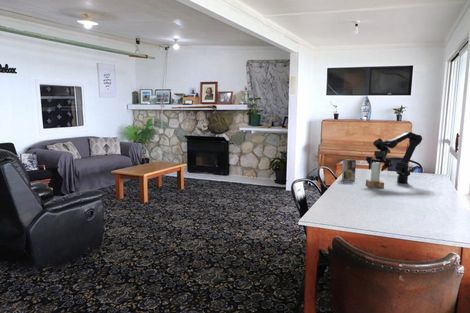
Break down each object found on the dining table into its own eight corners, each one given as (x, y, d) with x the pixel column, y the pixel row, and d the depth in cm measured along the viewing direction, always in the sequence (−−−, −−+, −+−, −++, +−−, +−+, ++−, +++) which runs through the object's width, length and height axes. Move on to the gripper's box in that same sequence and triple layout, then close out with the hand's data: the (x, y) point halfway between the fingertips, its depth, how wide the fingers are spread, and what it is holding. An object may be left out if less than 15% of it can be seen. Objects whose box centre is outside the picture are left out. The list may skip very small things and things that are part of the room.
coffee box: (353, 179, 295) (354, 159, 293) (355, 180, 289) (356, 160, 287) (341, 178, 296) (342, 158, 294) (343, 180, 290) (344, 160, 287)
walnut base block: (379, 185, 274) (379, 179, 274) (383, 188, 264) (384, 182, 264) (365, 184, 275) (366, 179, 274) (369, 187, 265) (369, 182, 265)
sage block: (373, 180, 272) (374, 162, 270) (379, 181, 269) (380, 163, 267) (370, 180, 269) (371, 163, 267) (376, 181, 266) (377, 164, 264)
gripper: (367, 145, 275) (359, 161, 269) (392, 148, 262) (385, 164, 256) (371, 155, 282) (364, 171, 276) (396, 158, 269) (388, 174, 263)
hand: (375, 170), depth 267 cm, fingers open, 9 cm apart
